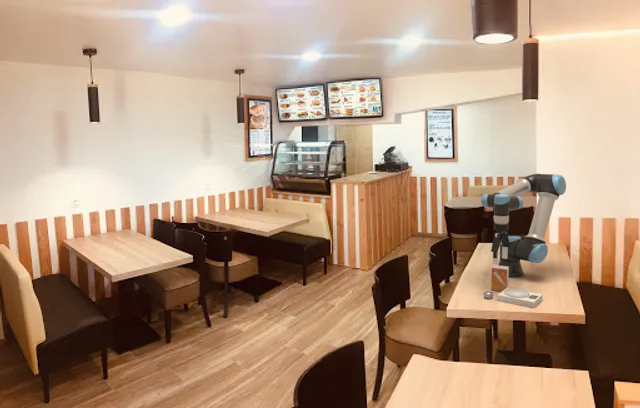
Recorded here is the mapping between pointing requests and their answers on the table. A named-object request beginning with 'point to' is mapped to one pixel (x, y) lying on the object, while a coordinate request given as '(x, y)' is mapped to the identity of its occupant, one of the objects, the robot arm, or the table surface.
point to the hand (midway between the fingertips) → (500, 261)
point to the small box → (499, 278)
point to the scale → (520, 297)
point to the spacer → (488, 295)
